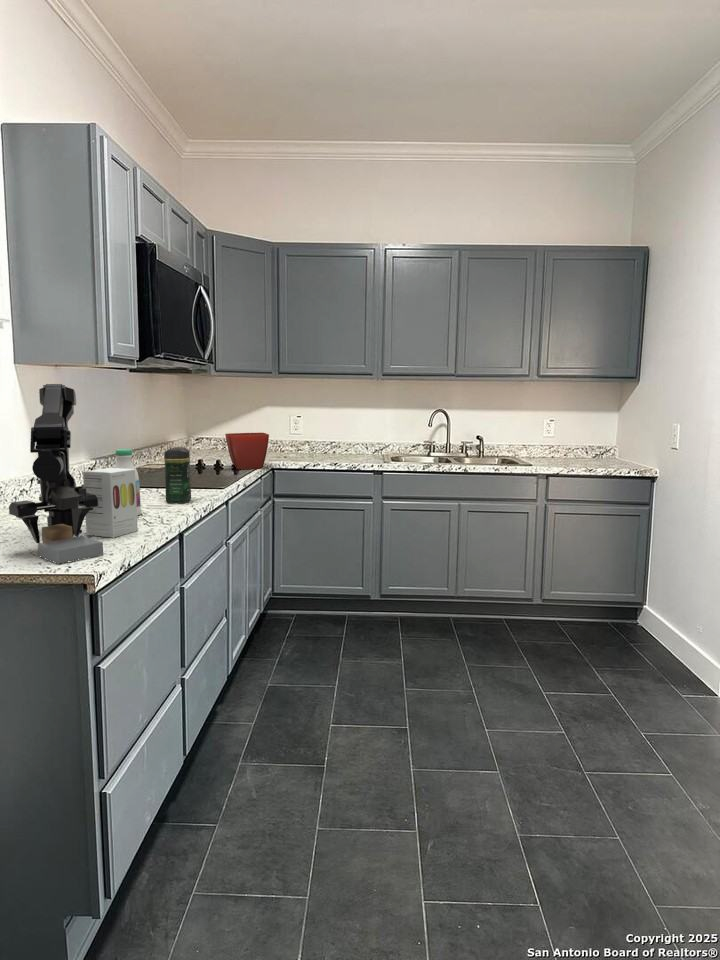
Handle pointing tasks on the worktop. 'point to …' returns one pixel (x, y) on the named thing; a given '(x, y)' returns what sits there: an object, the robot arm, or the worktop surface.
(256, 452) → the plant pot
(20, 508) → the robot arm
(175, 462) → the coffee jar
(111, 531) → the supplement box
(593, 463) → the worktop surface
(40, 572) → the worktop surface
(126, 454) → the milk bottle
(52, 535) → the walnut cube
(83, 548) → the slate slab
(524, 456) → the worktop surface
